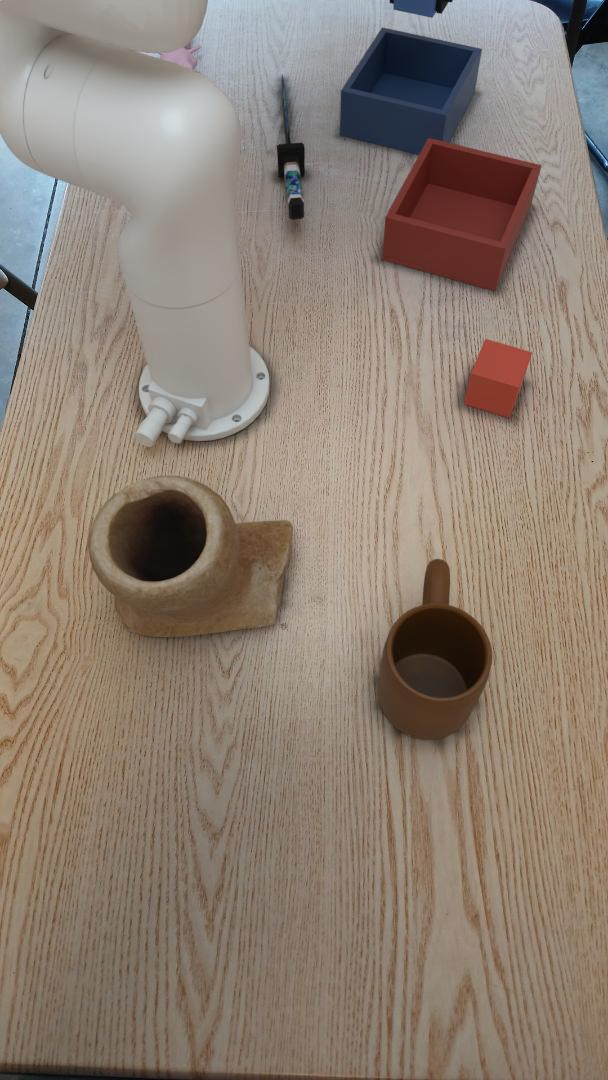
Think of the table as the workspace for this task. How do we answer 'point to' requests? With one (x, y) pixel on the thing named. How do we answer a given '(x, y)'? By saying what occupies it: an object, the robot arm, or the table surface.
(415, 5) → the blue block
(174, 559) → the stone cup
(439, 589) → the mug
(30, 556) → the table surface
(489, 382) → the red block
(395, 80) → the blue bin
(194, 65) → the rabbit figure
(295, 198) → the knife
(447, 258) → the red bin
